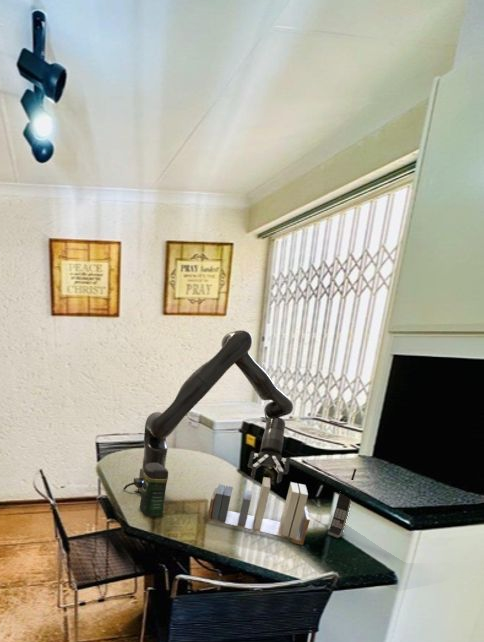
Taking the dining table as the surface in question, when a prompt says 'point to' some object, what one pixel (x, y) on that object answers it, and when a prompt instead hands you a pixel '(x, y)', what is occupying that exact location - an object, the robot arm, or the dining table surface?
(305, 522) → the book shelf
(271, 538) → the dining table surface
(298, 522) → the white books
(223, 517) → the grey books
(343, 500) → the vintage mobile phone
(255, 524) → the white book
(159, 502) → the coffee jar
